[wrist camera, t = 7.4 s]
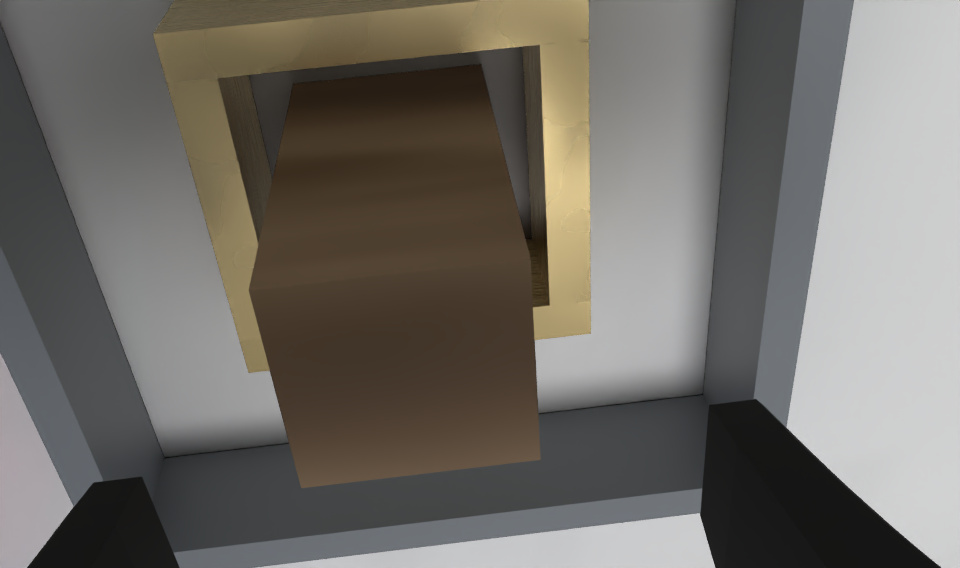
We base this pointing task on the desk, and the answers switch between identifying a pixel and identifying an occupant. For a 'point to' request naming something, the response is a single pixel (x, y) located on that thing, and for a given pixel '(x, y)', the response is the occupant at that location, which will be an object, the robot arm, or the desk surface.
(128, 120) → the desk surface
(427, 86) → the walnut peg
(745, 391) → the walled box
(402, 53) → the frame
